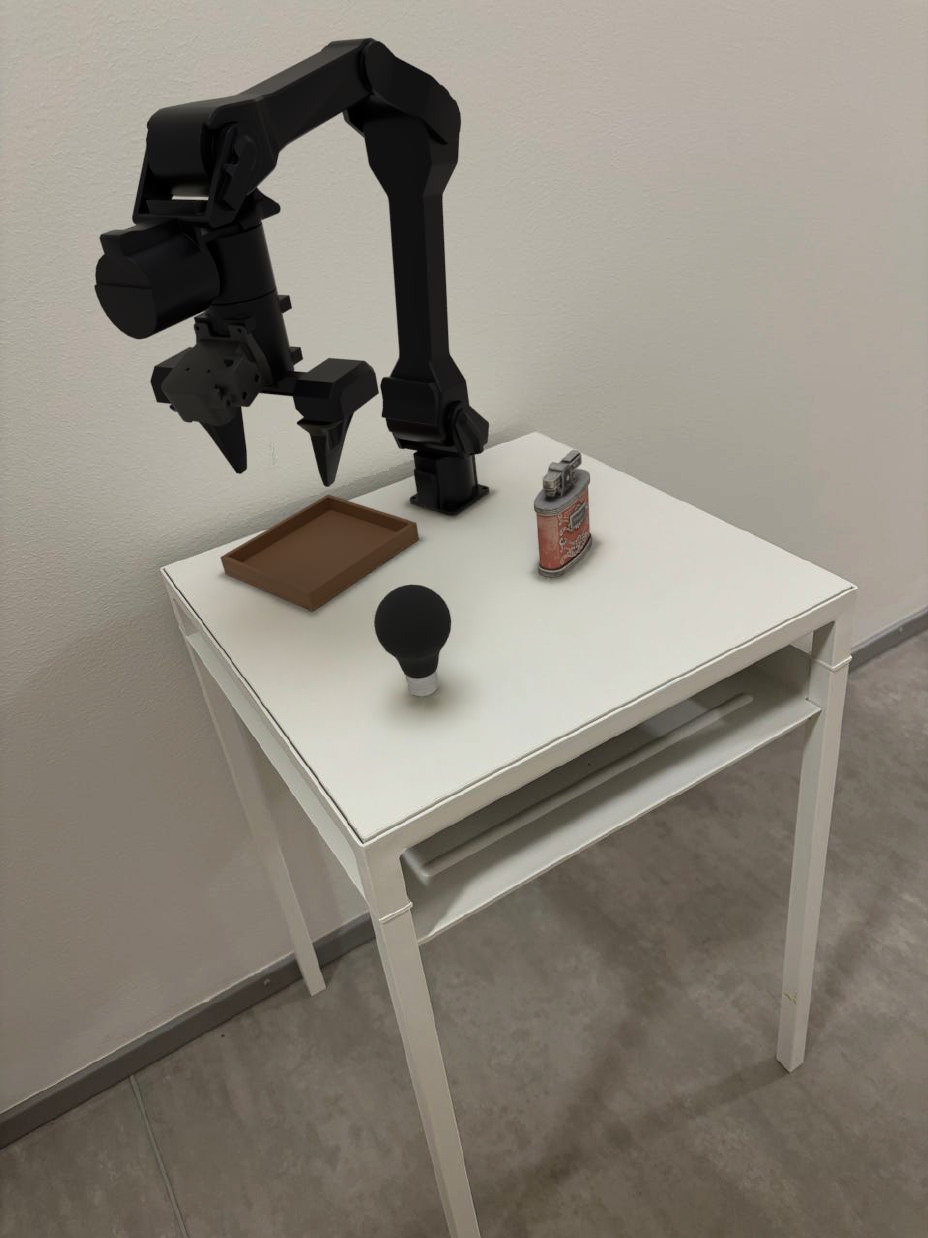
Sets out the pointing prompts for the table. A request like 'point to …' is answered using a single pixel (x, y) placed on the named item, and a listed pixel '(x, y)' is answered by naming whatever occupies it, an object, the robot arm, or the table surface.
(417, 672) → the light bulb
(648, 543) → the table surface
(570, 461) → the lighter
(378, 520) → the tray
